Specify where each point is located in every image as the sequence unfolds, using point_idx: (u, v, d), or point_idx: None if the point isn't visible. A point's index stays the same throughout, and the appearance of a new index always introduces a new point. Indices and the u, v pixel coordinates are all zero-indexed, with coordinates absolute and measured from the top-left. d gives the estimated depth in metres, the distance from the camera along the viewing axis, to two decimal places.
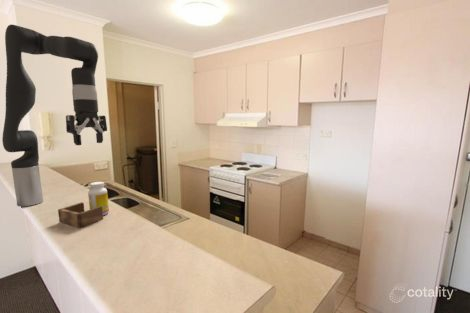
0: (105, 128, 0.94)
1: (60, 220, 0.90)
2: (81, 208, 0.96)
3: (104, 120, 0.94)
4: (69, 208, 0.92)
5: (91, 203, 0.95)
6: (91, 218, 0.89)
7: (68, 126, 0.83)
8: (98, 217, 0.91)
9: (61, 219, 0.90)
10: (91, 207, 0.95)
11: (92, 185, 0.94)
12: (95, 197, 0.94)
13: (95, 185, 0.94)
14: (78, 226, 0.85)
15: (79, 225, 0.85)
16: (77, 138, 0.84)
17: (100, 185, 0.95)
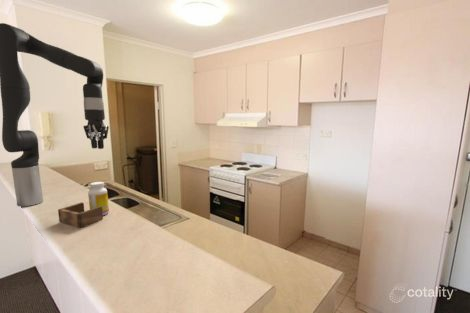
0: None
1: (60, 220, 0.90)
2: (81, 208, 0.96)
3: None
4: (69, 208, 0.92)
5: (91, 203, 0.95)
6: (91, 218, 0.89)
7: None
8: (98, 217, 0.91)
9: (61, 219, 0.90)
10: (91, 207, 0.95)
11: (92, 185, 0.94)
12: (95, 197, 0.94)
13: (95, 185, 0.94)
14: (78, 226, 0.85)
15: (79, 225, 0.85)
16: None
17: (100, 185, 0.95)
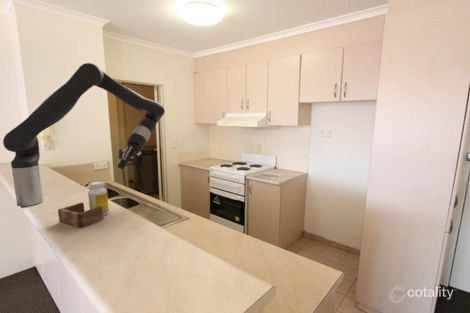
0: None
1: (60, 220, 0.90)
2: (81, 208, 0.96)
3: None
4: (69, 208, 0.92)
5: (91, 203, 0.95)
6: (91, 218, 0.89)
7: None
8: (98, 217, 0.91)
9: (61, 219, 0.90)
10: (91, 207, 0.95)
11: (92, 185, 0.94)
12: (95, 197, 0.94)
13: (95, 185, 0.94)
14: (78, 226, 0.85)
15: (79, 225, 0.85)
16: None
17: (100, 185, 0.95)
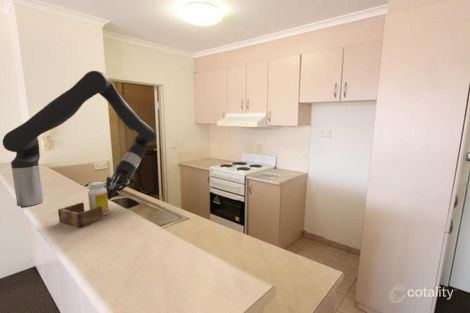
0: None
1: (60, 220, 0.90)
2: (81, 208, 0.96)
3: None
4: (69, 208, 0.92)
5: (91, 203, 0.94)
6: (91, 218, 0.89)
7: None
8: (98, 217, 0.91)
9: (61, 219, 0.90)
10: (91, 207, 0.95)
11: (92, 185, 0.94)
12: (95, 197, 0.94)
13: (95, 185, 0.94)
14: (78, 226, 0.85)
15: (79, 225, 0.85)
16: None
17: (100, 185, 0.95)
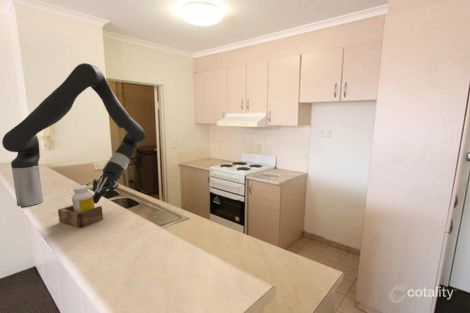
0: None
1: (60, 220, 0.90)
2: None
3: None
4: (69, 208, 0.92)
5: (75, 209, 0.89)
6: (91, 218, 0.89)
7: None
8: (98, 217, 0.91)
9: (61, 219, 0.90)
10: None
11: (75, 190, 0.88)
12: (79, 202, 0.88)
13: (78, 189, 0.88)
14: (78, 226, 0.85)
15: (79, 225, 0.85)
16: None
17: (84, 189, 0.89)
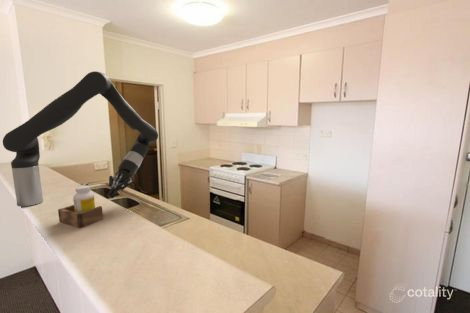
0: None
1: (60, 220, 0.90)
2: None
3: None
4: (69, 208, 0.92)
5: (76, 208, 0.89)
6: (91, 218, 0.89)
7: None
8: (98, 217, 0.91)
9: (61, 219, 0.90)
10: None
11: (77, 189, 0.89)
12: (80, 202, 0.88)
13: (80, 189, 0.89)
14: (78, 226, 0.85)
15: (79, 225, 0.85)
16: None
17: (86, 189, 0.90)
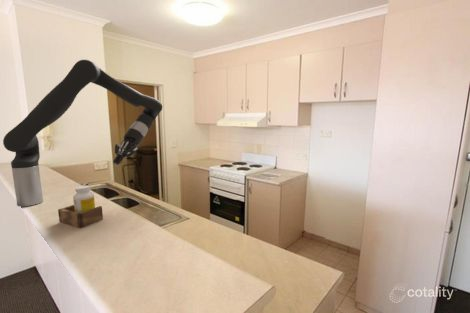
0: None
1: (60, 220, 0.90)
2: None
3: None
4: (69, 208, 0.92)
5: (76, 208, 0.89)
6: (91, 218, 0.89)
7: None
8: (98, 217, 0.91)
9: (61, 219, 0.90)
10: None
11: (77, 189, 0.89)
12: (80, 202, 0.88)
13: (80, 189, 0.89)
14: (78, 226, 0.85)
15: (79, 225, 0.85)
16: None
17: (86, 189, 0.90)
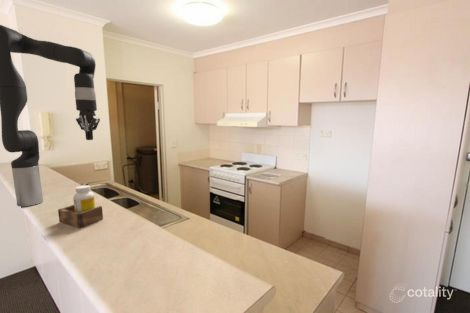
0: None
1: (60, 220, 0.90)
2: None
3: None
4: (69, 208, 0.92)
5: (76, 208, 0.89)
6: (91, 218, 0.89)
7: None
8: (98, 217, 0.91)
9: (61, 219, 0.90)
10: None
11: (77, 189, 0.89)
12: (80, 201, 0.88)
13: (80, 189, 0.89)
14: (78, 226, 0.85)
15: (79, 225, 0.85)
16: None
17: (86, 189, 0.90)
